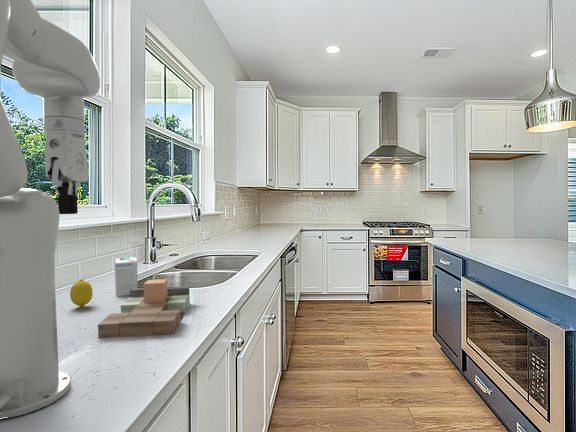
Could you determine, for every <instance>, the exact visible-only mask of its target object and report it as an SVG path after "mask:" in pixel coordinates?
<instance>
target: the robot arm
mask: <svg viewBox="0 0 576 432" xmlns="http://www.w3.org/2000/svg"><path fill="white" fill-rule="evenodd" d="M3 57H6V58H8V59H11V60H13V62H12V65H11V66H12V67H11V69H12V75H13V78H14V80H15V81H16V83H17V84H18V85H19V86H20V88H21V89H22V90H23V91H24V92H26V93H28V94H30V95H33V96H36V97H40V98H42V106H43V107H42V109H43V110H42V112H43V131H44V132H43V134H44V135H45V141H44V143H45V144H44V168H45V169H44V170H45V176H46V178H48V179H49V180H50V181H51V185H52V186H53V187H55V190H56V195H57V201H56V200H55V199H54V197H53V196H51V195H50V194H48V193H46V192H45V191H41V190H39V189H36V188H34V189H33V188H27V187H24V186H25V185H26V184H27V180H28V176H29V175H28V166H27V162H26V159H25V156H24V154H23V151H22V148H21V145H20V143H19V141H18V138H17V136H16V133H15V131H14V129H13V126H12V123H11V121H10V118H9V116H8V114H7V111H6V109H5V106H4V104H3V100H2V98H1V97H2V96H0V418H3V417H13V416H17V417H20V416H24V415H27V414H30V413H33V412H36V411H38V410H41V409H43V408H45V407H47V406H49V405H51V404H53V403H55V402H56V401H58V400H59V399H61V398H62V397H64V396H65V395H66V394H67V392H68V391H69V390H70V388H71V386H72V385H71V383H72V382H71V381H72V380H71V376H70V375H69V374H68V373H65V372H63V371H60V370H59V369H60V368H59V350H58V349H59V347H58V346H59V345H58V326H57V325H58V322H57V321H58V320H57V301H56V300H57V298H56V297H57V295H56V276H55V275H56V274H55V273H56V269H55V267H56V266H55V261H56V248H57V239H58V232H59V225H60V215H77V214H78V212H79V211H78V192H79V188H81V186H82V184H81V182H82V183H86V182H87V181H88V180H89V167H88V155H87V154H88V153H87V149H86V142H85V139H84V138H85V137H86V131H85V130H86V129H85V105H84V103H85V101H84V99H85V98H86V99H87V98H92V97H95V96H96V95H97V94H98V93H99V91H100V88H101V76H100V73H99V69H98V66H97V63H96V61H95V59H94V58H93V55H92V53H91V51H90V50H89V48H88V46H87V45H85V43H83V41H82V40H80V39H79V38H78V37H76V36H74V35H72V34H71V33H70V32H67V31H66V30H65V29H62V28H61V27H59V26H57V25H56V24H54V23H53V22H50V21H48V20H47V19H44V18H43V17H41V15H40V13H39V12H38V10H37V8H36V6H35V5H34V3H33V2H32V0H0V68H1V66H2V62H3ZM60 397H61V398H60ZM57 399H58V400H57ZM54 401H55V402H54ZM50 403H51V404H50ZM44 406H45V407H44ZM42 407H43V408H42ZM40 408H41V409H40ZM35 410H36V411H35ZM32 411H33V412H32ZM29 412H30V413H29ZM26 413H27V414H26ZM23 414H24V415H23ZM19 415H20V416H19ZM13 418H14V417H13Z"/></svg>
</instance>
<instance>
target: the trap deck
mask: <svg viewBox="0 0 576 432" xmlns="http://www.w3.org/2000/svg"><path fill="white" fill-rule="evenodd" d="M167 292H168V297H167V298H166V300H165V301H164V302H149V303H144V288H138V289H131V290H130V295H129V298H127V299H126V300H125V301H123V302H122V303H121V305H120V312H112V313H111V312H110V314H109V315H107V316H106V317H105V318H104V319H102V321H101V322H99V323H97V331H98V332H97V335H98V336H97V337H98V339H107V338H124V337H125V338H127V337H139V336H140V337H141V336H143V337H144V336H157V335H174V334H175V333H176V331H177V330H178V327H179V325H180V324H181V320H182V319H183V317H184V315H185V313H186V312H187V310H188V309H189V306H190V305H191V304H190V303H191V300H190V299H191V298H190V297H191V296H190V286H178V287H177V286H174V287H167Z"/></svg>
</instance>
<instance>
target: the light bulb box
mask: <svg viewBox="0 0 576 432" xmlns="http://www.w3.org/2000/svg"><path fill="white" fill-rule="evenodd" d="M114 261H115V262H114V286H115V297H122V296H123V297H124V296H130V290H131V289H139V287H138V285H139V283H138V260H137V257H136V256H133V257H132V256H131V257H122V258H121V257H120V258H115V259H114Z"/></svg>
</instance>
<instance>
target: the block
mask: <svg viewBox="0 0 576 432" xmlns="http://www.w3.org/2000/svg"><path fill="white" fill-rule="evenodd" d="M167 288H168V279H167V278H164V279H163V278H162V279H148V280H146V281H145V282H144V283H143V289H144V303H149V302H164V301H165V300H166V298H167V297H168V292H167Z"/></svg>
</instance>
